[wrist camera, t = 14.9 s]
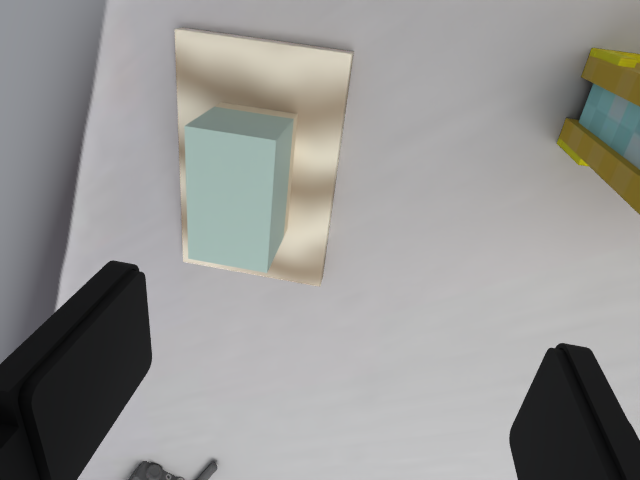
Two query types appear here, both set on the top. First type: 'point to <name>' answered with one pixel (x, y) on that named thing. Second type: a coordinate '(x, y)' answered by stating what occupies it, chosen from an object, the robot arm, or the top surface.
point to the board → (280, 95)
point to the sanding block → (238, 184)
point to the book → (609, 123)
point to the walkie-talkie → (164, 472)
